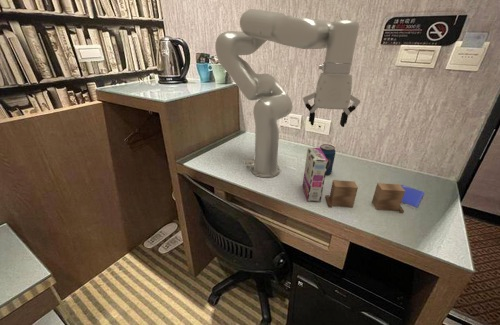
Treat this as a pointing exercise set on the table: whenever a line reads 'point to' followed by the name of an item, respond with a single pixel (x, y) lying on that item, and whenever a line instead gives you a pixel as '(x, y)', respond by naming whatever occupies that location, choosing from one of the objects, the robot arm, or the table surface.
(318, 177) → the candy bar box
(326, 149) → the soda can
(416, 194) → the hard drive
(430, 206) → the table surface
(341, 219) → the table surface
